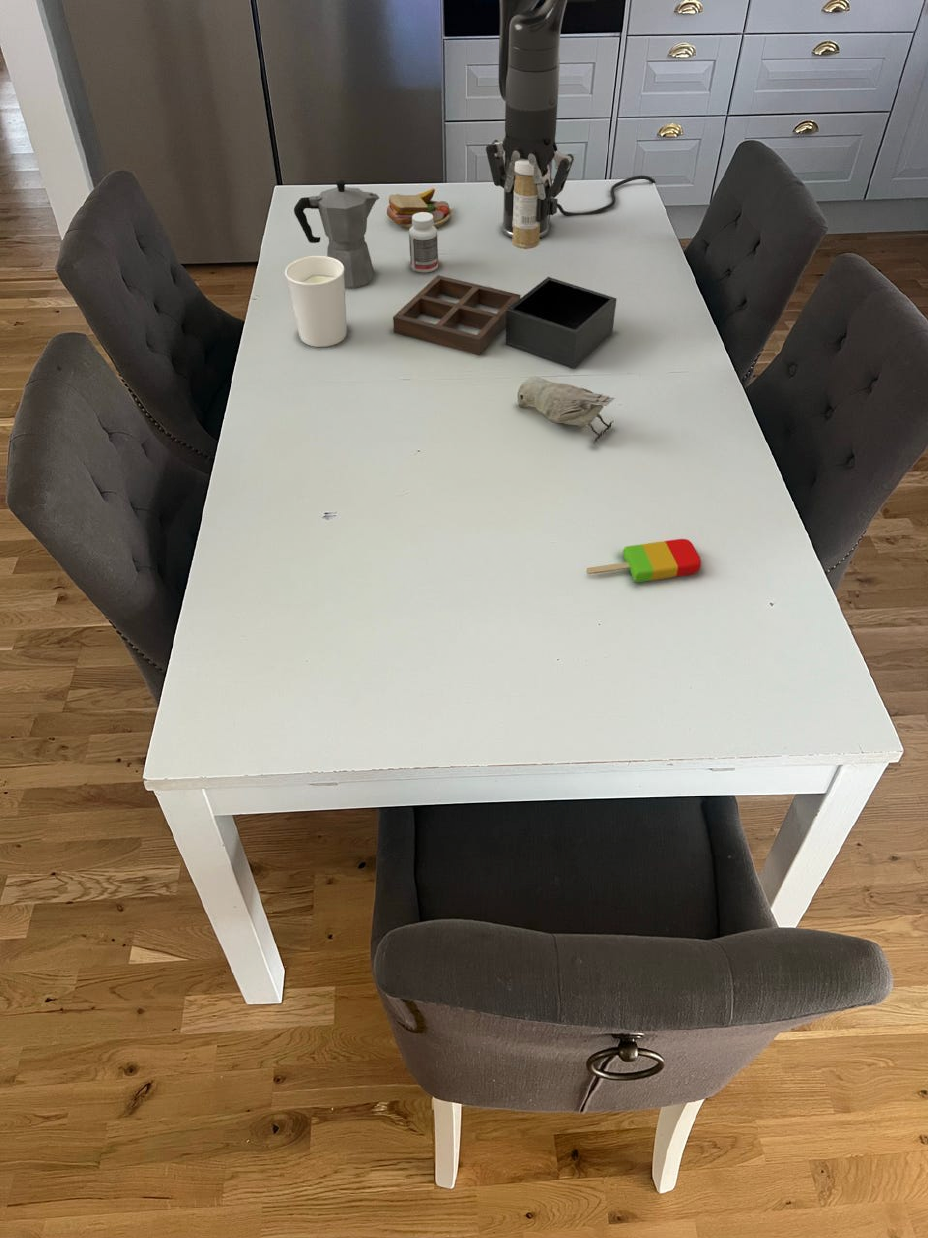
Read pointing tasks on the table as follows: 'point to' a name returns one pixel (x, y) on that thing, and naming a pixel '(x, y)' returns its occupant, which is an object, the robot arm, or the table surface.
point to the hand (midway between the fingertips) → (526, 216)
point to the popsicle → (656, 560)
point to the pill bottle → (423, 243)
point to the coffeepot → (343, 228)
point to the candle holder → (318, 299)
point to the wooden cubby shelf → (455, 314)
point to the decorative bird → (564, 402)
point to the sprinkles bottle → (525, 207)
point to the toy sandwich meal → (417, 208)
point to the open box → (560, 321)
